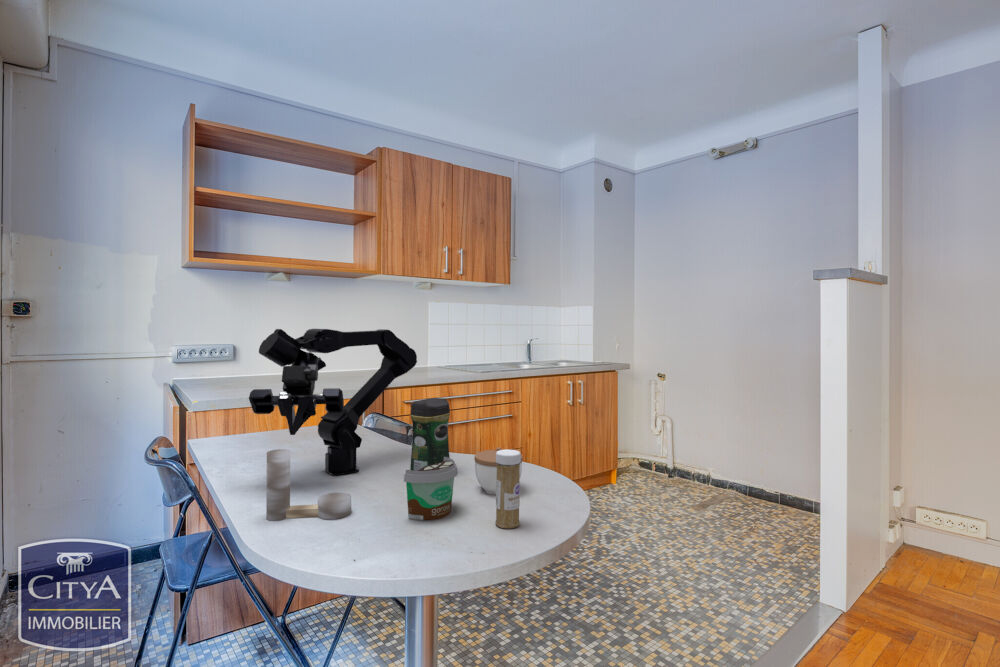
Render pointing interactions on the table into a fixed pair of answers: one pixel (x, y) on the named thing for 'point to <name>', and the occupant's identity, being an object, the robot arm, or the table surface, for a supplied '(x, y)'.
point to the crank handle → (280, 494)
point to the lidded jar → (488, 469)
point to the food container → (430, 490)
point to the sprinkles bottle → (507, 488)
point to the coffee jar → (429, 432)
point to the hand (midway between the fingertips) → (291, 433)
